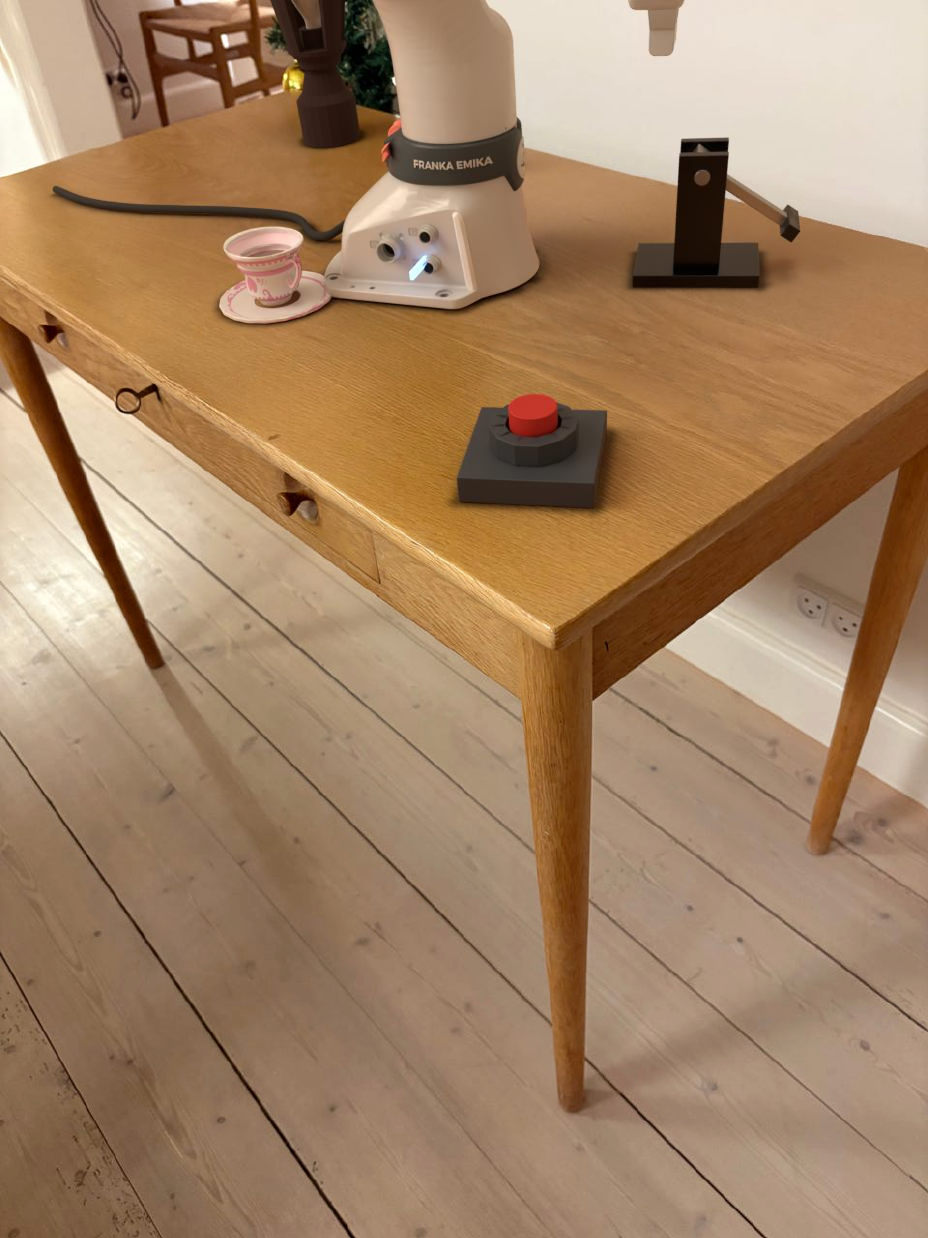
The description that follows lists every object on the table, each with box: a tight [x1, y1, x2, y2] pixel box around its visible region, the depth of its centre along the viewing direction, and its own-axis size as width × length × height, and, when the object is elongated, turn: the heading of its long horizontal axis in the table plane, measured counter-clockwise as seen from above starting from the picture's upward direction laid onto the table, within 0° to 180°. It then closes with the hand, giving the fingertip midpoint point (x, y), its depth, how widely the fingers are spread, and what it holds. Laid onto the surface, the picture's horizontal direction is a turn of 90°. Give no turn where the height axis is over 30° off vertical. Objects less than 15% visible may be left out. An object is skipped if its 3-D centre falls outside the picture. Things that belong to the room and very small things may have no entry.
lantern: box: [269, 0, 361, 149], centre depth 134 cm, size 15×15×30 cm
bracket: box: [631, 137, 761, 289], centre depth 97 cm, size 12×8×12 cm, turn 79°
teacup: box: [219, 226, 333, 324], centre depth 103 cm, size 12×12×6 cm
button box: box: [456, 401, 608, 509], centre depth 76 cm, size 10×10×4 cm
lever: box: [693, 144, 801, 243], centre depth 95 cm, size 12×5×2 cm
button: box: [508, 393, 558, 437], centre depth 74 cm, size 4×4×2 cm
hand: (662, 50), depth 75 cm, fingers closed
